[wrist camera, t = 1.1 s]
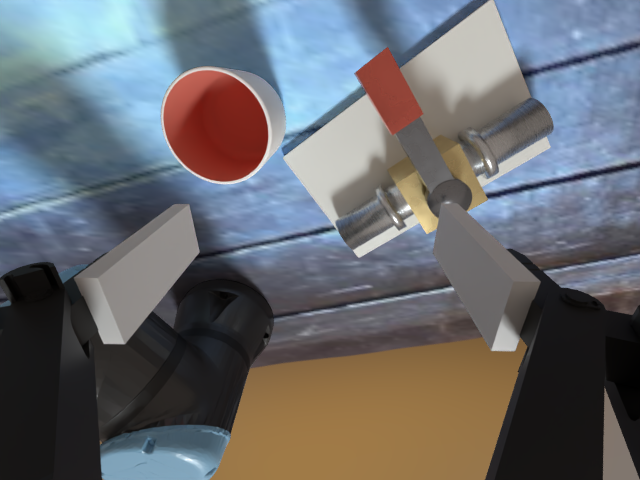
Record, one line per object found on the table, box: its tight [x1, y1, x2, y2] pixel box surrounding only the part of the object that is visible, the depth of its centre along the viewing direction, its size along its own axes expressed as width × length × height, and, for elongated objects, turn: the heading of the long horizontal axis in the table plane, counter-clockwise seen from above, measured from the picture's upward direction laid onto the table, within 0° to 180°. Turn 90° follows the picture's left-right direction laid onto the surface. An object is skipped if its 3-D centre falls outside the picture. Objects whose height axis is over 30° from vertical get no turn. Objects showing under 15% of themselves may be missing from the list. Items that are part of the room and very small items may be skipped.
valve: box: [335, 98, 553, 250], centre depth 35 cm, size 24×7×7 cm, turn 126°
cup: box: [161, 66, 286, 184], centre depth 32 cm, size 10×10×10 cm
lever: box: [354, 47, 472, 218], centre depth 28 cm, size 16×4×2 cm, turn 36°
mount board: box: [283, 0, 550, 258], centre depth 36 cm, size 26×17×1 cm, turn 126°
